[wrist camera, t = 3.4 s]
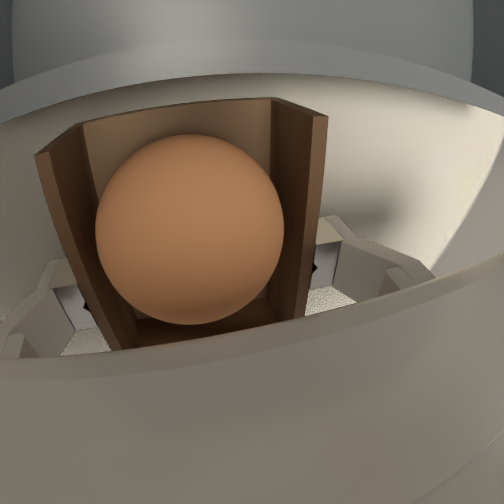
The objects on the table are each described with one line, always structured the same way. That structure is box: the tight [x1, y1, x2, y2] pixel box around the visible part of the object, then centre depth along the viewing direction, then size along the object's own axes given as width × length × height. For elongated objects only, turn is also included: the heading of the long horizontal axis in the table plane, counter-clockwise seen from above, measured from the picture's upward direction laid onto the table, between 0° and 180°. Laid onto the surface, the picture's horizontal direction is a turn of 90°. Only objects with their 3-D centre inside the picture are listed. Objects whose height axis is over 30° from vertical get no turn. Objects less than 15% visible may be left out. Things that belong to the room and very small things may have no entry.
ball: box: [95, 134, 284, 325], centre depth 8 cm, size 5×5×5 cm
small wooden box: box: [34, 98, 328, 351], centre depth 10 cm, size 7×9×4 cm
